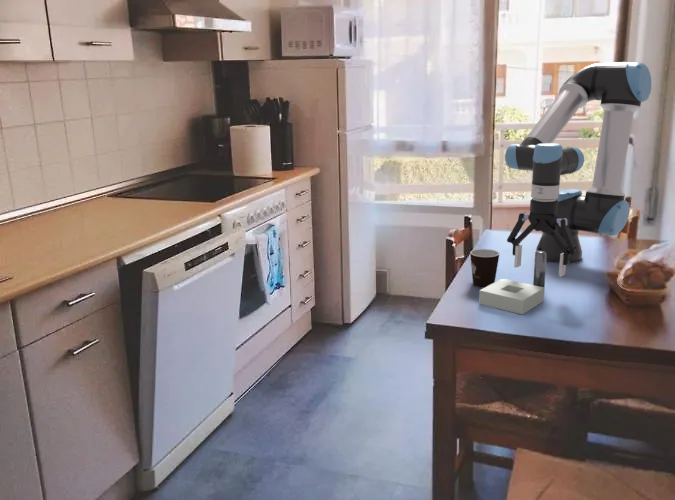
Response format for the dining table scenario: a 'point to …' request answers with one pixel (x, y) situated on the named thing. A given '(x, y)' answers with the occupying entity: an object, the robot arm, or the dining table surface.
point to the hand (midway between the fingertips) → (539, 270)
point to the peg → (540, 268)
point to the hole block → (511, 296)
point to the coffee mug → (484, 266)
